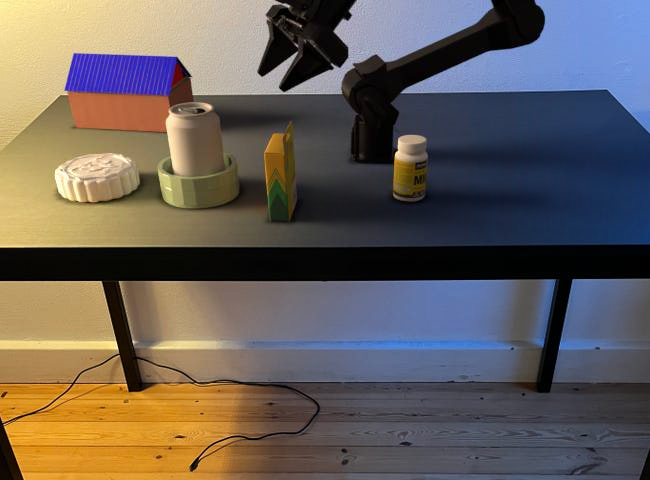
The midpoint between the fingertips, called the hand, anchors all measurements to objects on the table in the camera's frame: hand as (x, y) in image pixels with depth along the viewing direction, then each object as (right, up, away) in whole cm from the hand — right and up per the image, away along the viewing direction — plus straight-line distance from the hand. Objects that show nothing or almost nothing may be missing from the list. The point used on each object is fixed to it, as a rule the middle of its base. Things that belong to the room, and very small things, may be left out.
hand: (269, 82), depth 100 cm
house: (-28, +5, +30) cm, 41 cm away
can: (-10, -16, +1) cm, 19 cm away
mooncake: (-26, -15, +4) cm, 30 cm away
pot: (-10, -16, +2) cm, 19 cm away
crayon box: (+2, -20, -4) cm, 20 cm away
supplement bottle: (+21, -17, 0) cm, 27 cm away
